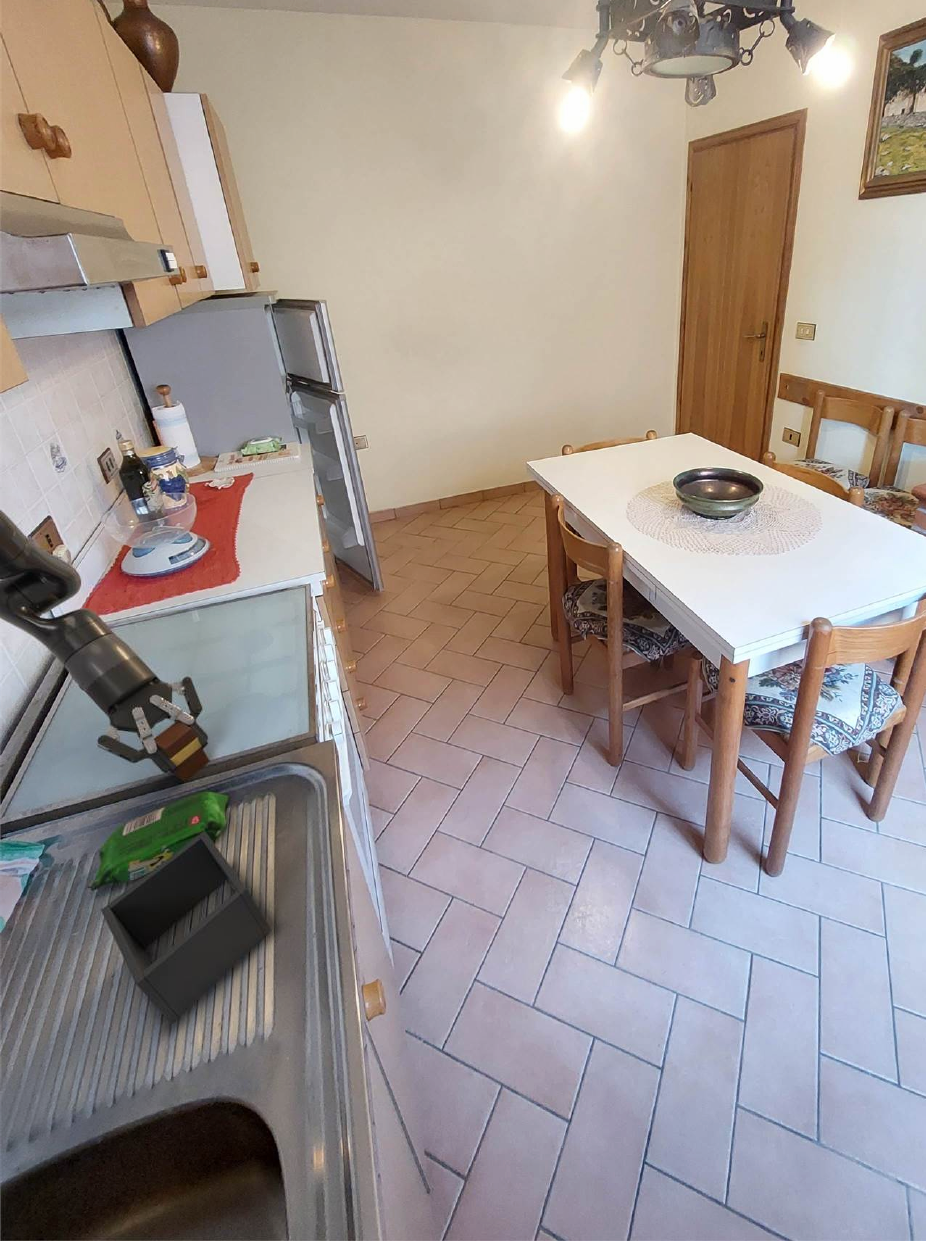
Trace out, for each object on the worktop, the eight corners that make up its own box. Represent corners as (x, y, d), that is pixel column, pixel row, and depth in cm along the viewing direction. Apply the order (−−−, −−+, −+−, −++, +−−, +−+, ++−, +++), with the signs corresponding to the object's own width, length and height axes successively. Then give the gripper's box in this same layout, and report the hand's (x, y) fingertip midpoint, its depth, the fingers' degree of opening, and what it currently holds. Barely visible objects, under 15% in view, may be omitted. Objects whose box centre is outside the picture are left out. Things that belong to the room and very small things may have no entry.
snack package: (106, 857, 77) (87, 834, 75) (232, 799, 83) (219, 776, 81) (99, 906, 72) (79, 883, 69) (235, 841, 78) (221, 817, 75)
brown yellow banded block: (188, 788, 86) (164, 749, 82) (174, 778, 87) (150, 740, 83) (213, 766, 89) (192, 728, 85) (199, 757, 90) (178, 719, 86)
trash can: (176, 1029, 60) (136, 984, 55) (139, 956, 66) (100, 909, 61) (275, 936, 67) (246, 888, 62) (233, 877, 73) (204, 830, 69)
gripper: (57, 699, 77) (144, 793, 77) (161, 634, 88) (238, 717, 88) (58, 714, 82) (140, 802, 82) (156, 650, 93) (229, 729, 93)
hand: (190, 757), depth 85 cm, fingers closed on brown yellow banded block, 4 cm apart
